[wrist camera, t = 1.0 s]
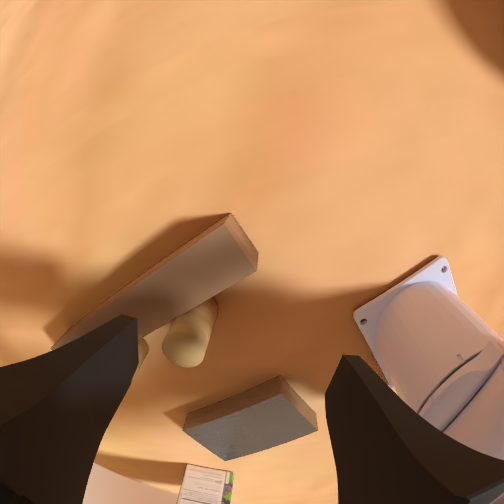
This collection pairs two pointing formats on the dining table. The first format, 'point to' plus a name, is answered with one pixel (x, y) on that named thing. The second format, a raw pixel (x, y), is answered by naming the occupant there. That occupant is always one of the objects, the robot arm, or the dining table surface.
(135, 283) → the bench dog strip
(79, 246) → the dining table surface
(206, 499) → the syrup box
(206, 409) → the steel plate
